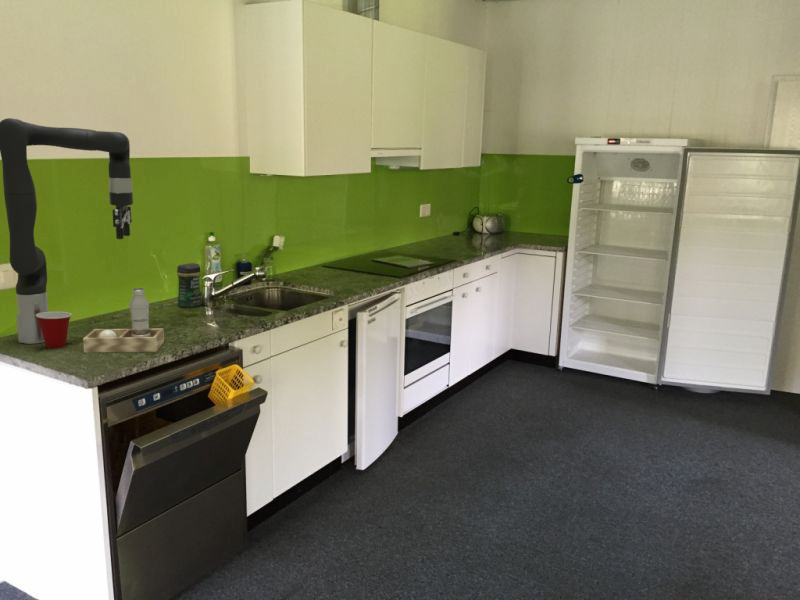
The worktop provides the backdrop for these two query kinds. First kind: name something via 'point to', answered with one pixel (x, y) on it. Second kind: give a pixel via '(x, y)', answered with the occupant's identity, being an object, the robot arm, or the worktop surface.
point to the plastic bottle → (139, 314)
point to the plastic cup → (54, 328)
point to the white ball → (107, 334)
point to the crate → (123, 341)
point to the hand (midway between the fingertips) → (123, 237)
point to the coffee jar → (189, 285)
